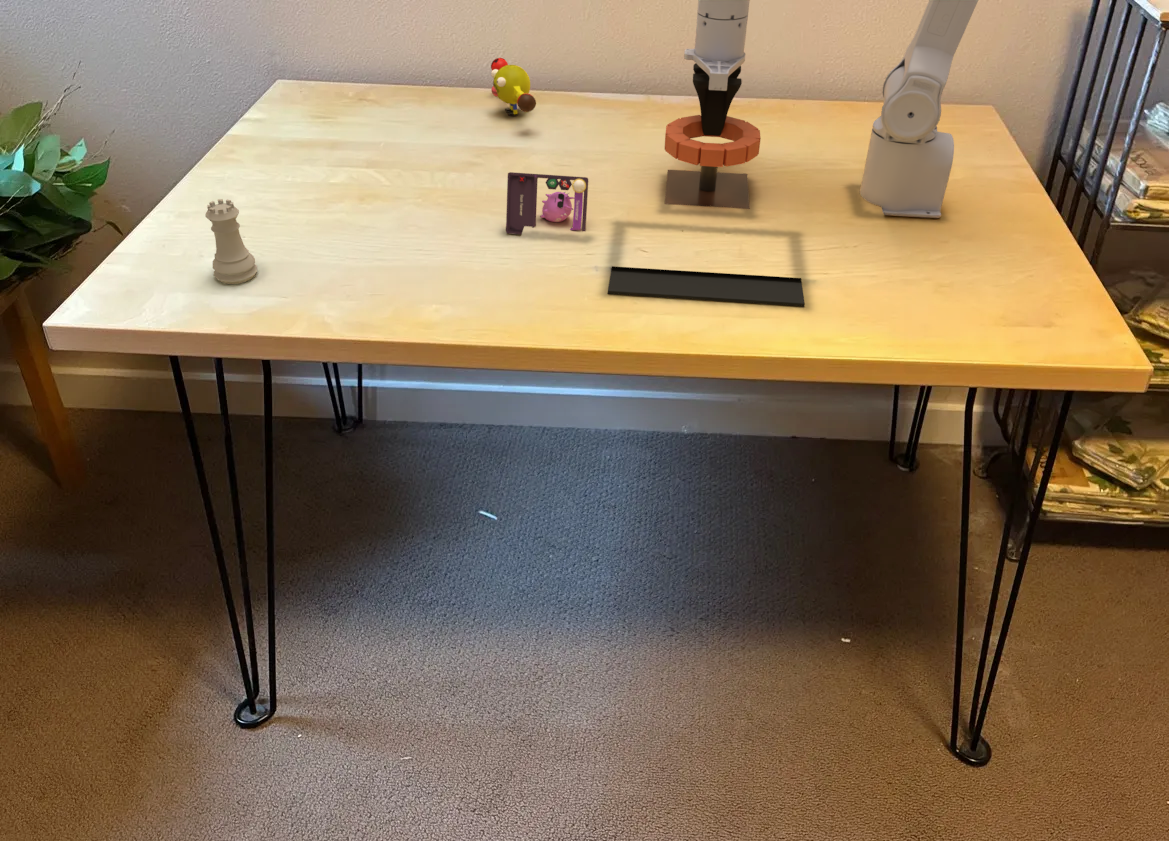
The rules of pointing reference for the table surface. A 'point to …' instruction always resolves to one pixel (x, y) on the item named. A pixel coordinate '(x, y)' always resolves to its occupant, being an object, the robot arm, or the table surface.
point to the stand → (707, 188)
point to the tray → (706, 286)
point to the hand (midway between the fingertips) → (711, 130)
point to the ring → (712, 153)
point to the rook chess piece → (229, 245)
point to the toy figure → (512, 86)
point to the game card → (554, 208)
